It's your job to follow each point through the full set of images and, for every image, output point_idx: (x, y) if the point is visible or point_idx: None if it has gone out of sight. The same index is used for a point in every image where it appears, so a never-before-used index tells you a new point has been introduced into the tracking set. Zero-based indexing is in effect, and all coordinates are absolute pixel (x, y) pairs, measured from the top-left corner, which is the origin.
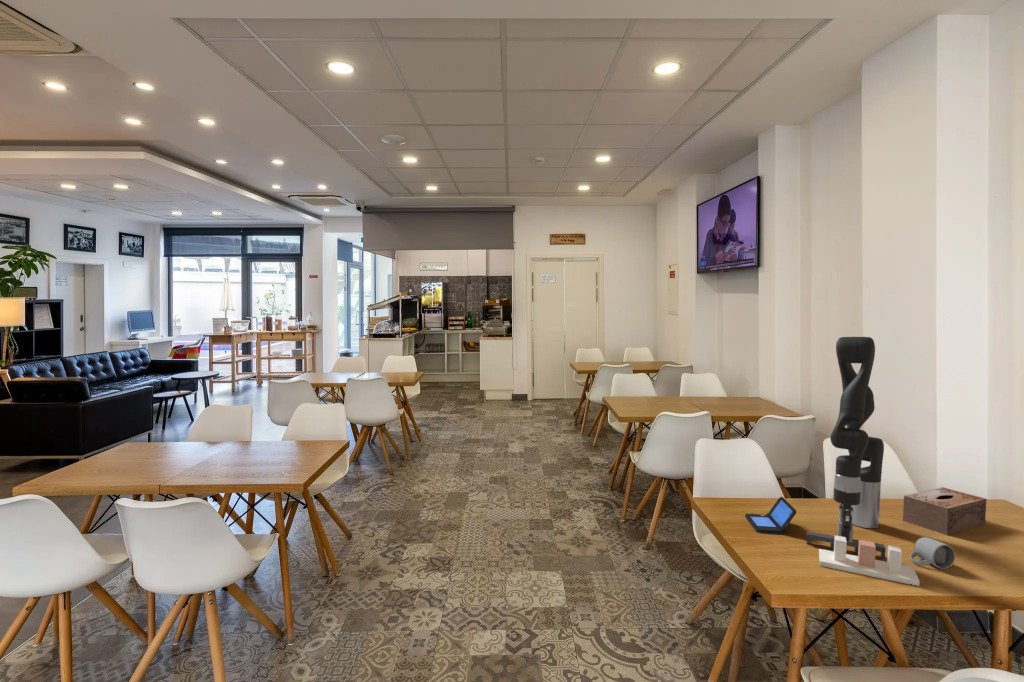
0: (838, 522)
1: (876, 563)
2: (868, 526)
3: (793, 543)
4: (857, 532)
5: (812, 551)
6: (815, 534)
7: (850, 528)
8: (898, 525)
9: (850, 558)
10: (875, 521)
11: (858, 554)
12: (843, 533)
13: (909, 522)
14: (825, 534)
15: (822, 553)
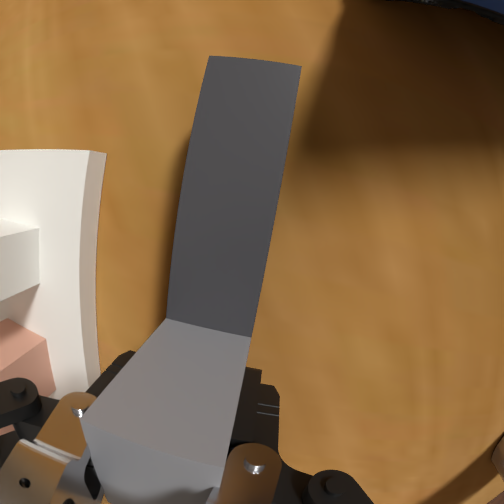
0: (124, 437)
1: (58, 398)
2: (499, 449)
3: (218, 20)
4: (478, 420)
5: (121, 117)
6: (225, 127)
7: (14, 439)
8: (492, 487)
9: (41, 308)
10: (501, 475)
11: (12, 347)
12: (98, 382)
13: (497, 496)
14: (265, 232)
15: (38, 166)
